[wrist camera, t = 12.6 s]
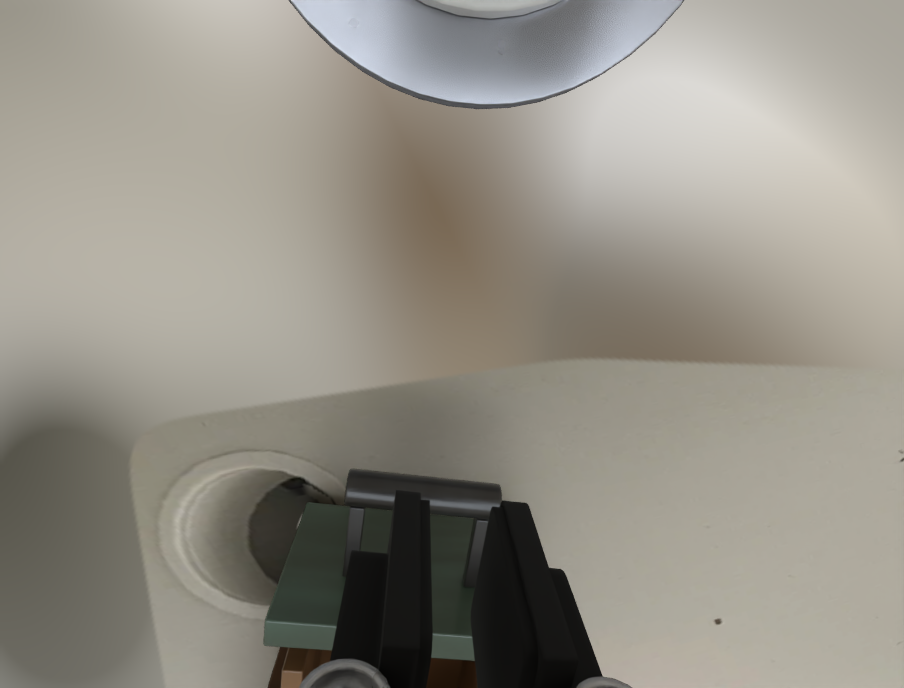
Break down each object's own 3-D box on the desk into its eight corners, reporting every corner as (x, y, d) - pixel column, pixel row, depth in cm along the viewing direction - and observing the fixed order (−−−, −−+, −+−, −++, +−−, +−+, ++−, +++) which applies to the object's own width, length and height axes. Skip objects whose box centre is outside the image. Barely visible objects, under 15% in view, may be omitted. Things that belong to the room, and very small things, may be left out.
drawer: (314, 414, 24) (270, 507, 17) (532, 439, 25) (573, 537, 18) (291, 694, 29) (250, 854, 22) (474, 706, 30) (489, 863, 23)
